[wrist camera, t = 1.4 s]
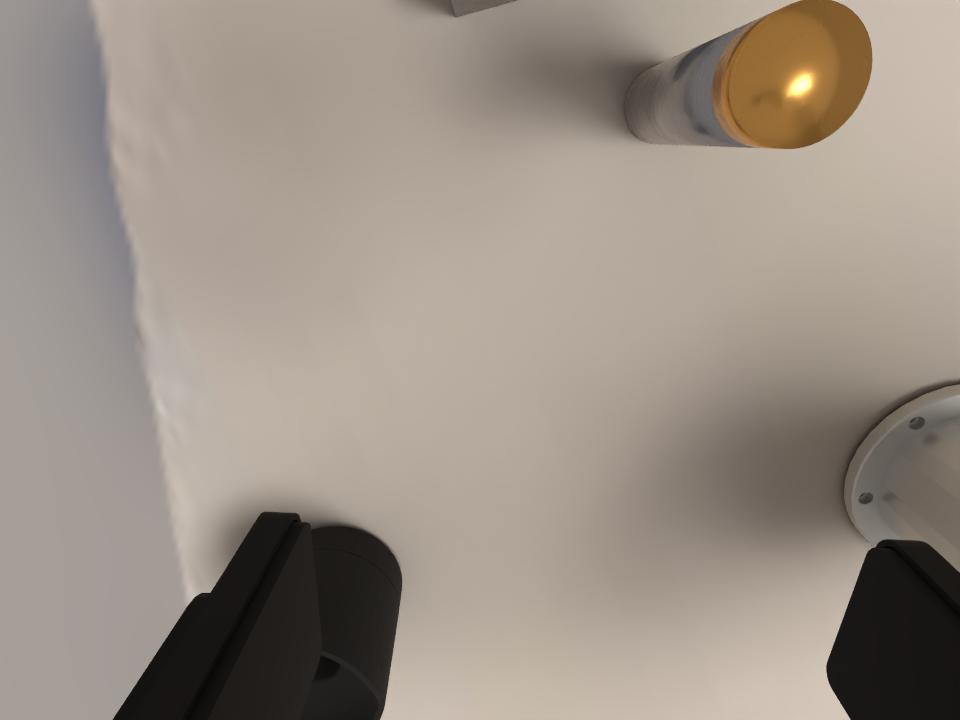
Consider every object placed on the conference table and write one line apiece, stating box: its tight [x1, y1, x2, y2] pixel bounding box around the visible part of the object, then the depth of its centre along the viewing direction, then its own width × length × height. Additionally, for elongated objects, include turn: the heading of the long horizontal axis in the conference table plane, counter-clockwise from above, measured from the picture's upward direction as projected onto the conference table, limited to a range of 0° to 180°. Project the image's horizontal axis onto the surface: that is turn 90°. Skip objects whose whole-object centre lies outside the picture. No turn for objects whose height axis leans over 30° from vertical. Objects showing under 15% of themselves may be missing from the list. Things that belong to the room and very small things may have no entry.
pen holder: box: [300, 527, 402, 720], centre depth 34 cm, size 9×9×10 cm
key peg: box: [624, 0, 872, 149], centre depth 21 cm, size 4×4×14 cm
